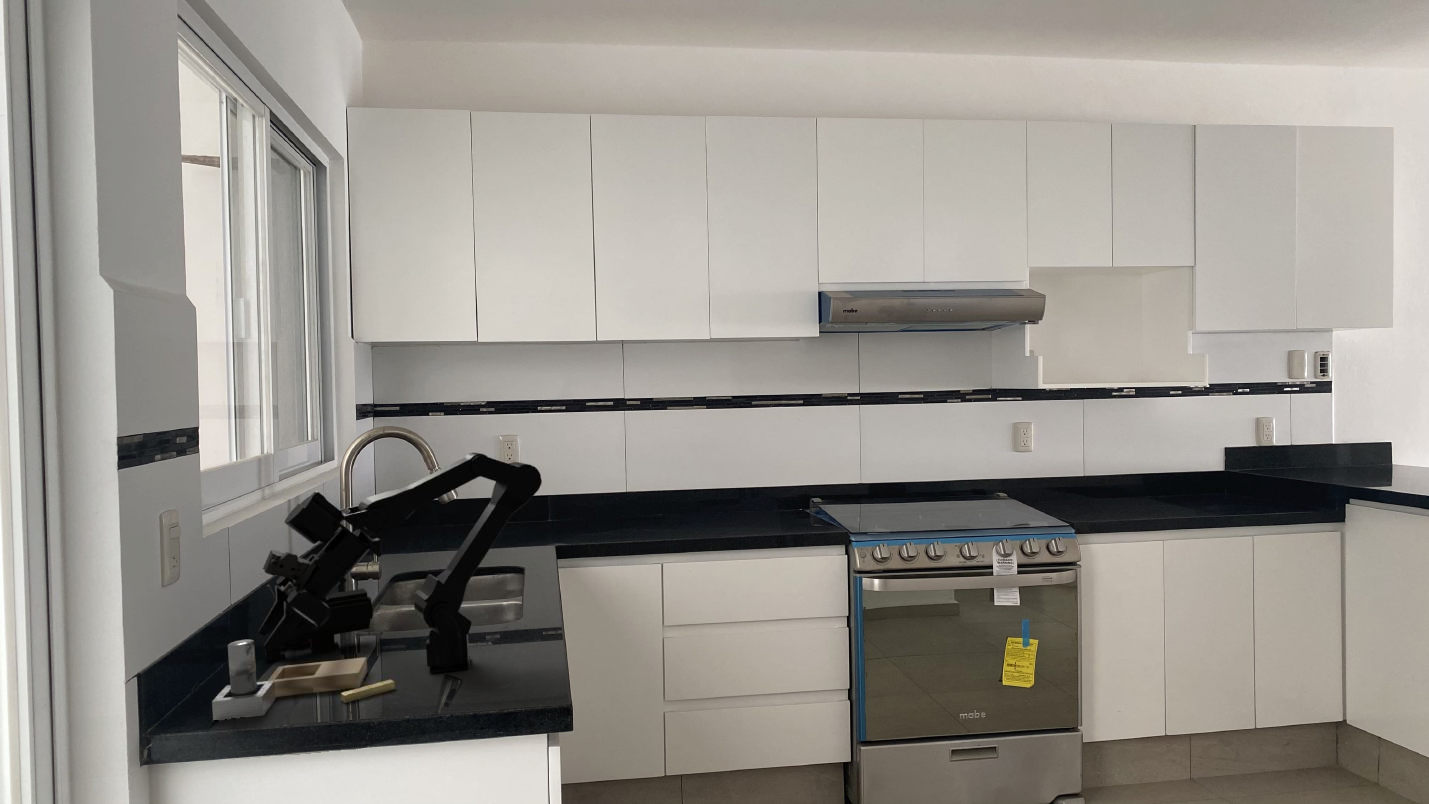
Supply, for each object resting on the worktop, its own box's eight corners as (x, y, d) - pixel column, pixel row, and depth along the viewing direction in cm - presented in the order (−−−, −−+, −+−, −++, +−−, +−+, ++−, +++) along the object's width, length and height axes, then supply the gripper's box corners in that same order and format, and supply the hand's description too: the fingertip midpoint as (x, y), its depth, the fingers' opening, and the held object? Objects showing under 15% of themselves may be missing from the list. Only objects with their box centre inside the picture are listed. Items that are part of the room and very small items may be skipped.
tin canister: (261, 704, 142) (256, 638, 142) (254, 712, 138) (250, 645, 138) (236, 706, 141) (231, 641, 141) (229, 715, 138) (224, 647, 137)
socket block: (275, 698, 144) (274, 680, 144) (263, 715, 137) (262, 695, 137) (227, 704, 142) (226, 685, 142) (213, 721, 136) (212, 701, 136)
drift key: (390, 686, 147) (390, 679, 147) (394, 688, 146) (394, 681, 146) (341, 700, 142) (340, 693, 142) (344, 703, 141) (344, 695, 141)
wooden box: (367, 671, 155) (366, 657, 155) (359, 687, 148) (358, 672, 148) (279, 681, 152) (278, 666, 152) (267, 697, 145) (266, 682, 145)
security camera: (264, 655, 167) (261, 602, 166) (369, 636, 176) (366, 586, 176) (267, 665, 161) (264, 610, 161) (376, 645, 170) (372, 593, 170)
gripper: (288, 523, 151) (216, 599, 146) (302, 539, 135) (223, 625, 130) (340, 563, 155) (273, 638, 150) (360, 583, 140) (286, 668, 134)
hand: (263, 641), depth 141 cm, fingers open, 9 cm apart
